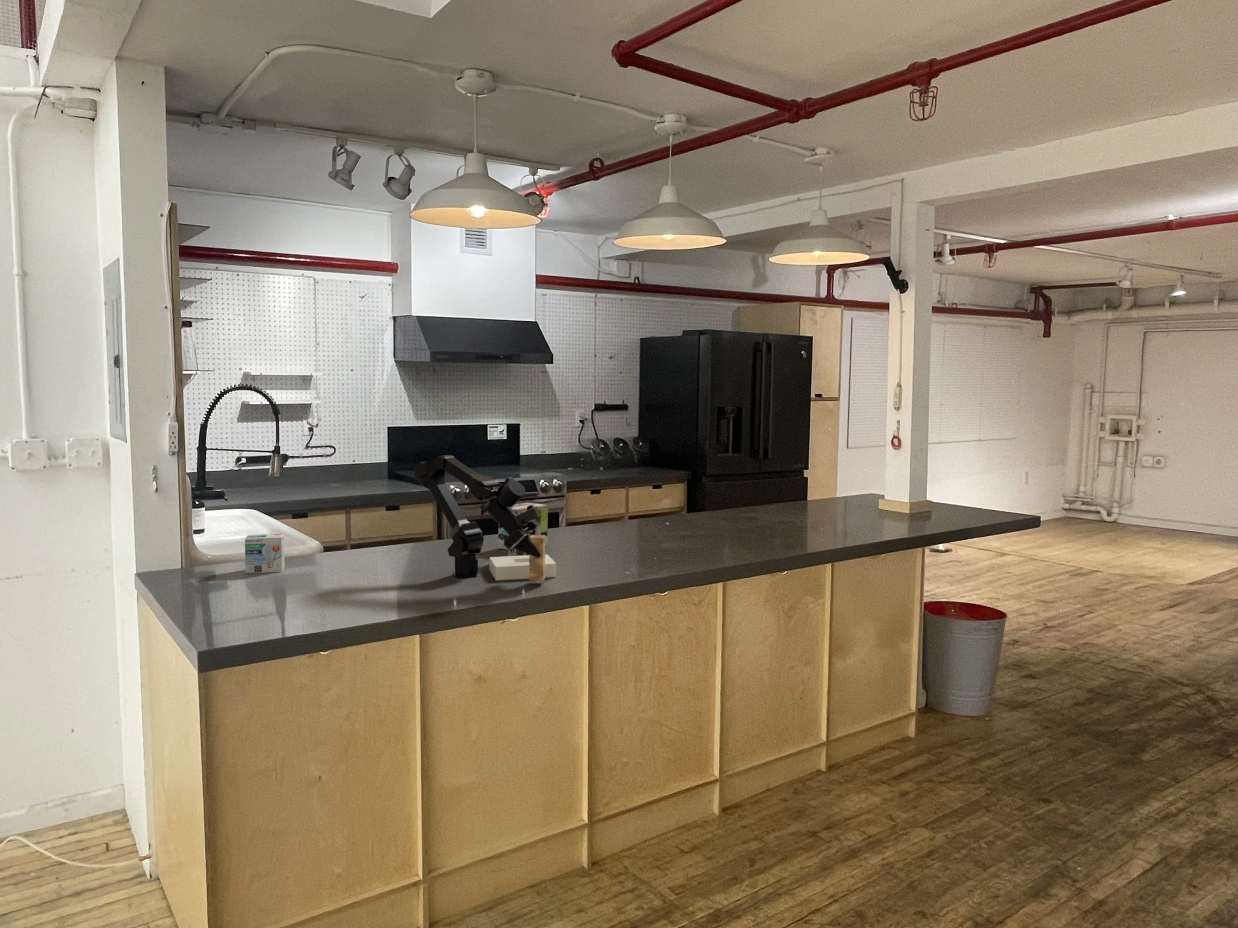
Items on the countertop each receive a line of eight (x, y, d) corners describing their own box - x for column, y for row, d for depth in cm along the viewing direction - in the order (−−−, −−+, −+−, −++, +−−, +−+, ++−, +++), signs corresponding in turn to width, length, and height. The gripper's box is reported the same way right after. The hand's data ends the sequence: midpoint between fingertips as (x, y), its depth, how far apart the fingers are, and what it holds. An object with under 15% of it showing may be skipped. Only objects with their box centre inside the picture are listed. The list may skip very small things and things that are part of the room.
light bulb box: (245, 574, 265) (243, 538, 264) (248, 569, 272) (246, 534, 271) (283, 572, 268) (282, 536, 267) (285, 567, 275) (284, 532, 273)
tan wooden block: (529, 580, 253) (529, 537, 252) (531, 577, 257) (531, 534, 256) (543, 580, 253) (543, 537, 252) (545, 577, 257) (545, 535, 256)
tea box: (518, 552, 299) (518, 509, 298) (497, 548, 305) (497, 506, 304) (548, 545, 311) (548, 503, 310) (527, 542, 317) (527, 501, 316)
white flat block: (495, 580, 259) (495, 566, 259) (489, 569, 272) (489, 557, 272) (556, 576, 264) (556, 563, 263) (547, 566, 277) (547, 554, 277)
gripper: (514, 501, 244) (553, 542, 244) (532, 492, 262) (568, 530, 262) (487, 528, 246) (525, 569, 246) (506, 517, 265) (542, 555, 264)
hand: (541, 555), depth 254 cm, fingers closed on tan wooden block, 4 cm apart
